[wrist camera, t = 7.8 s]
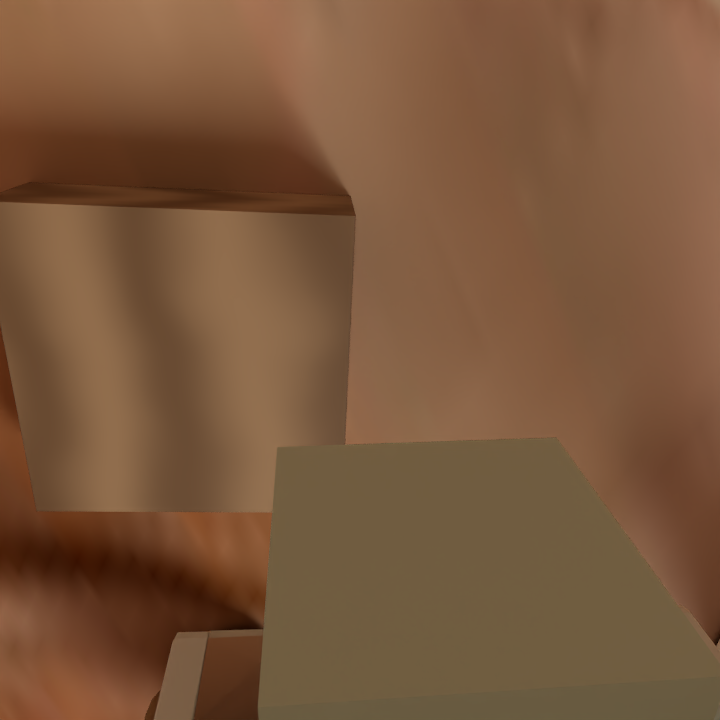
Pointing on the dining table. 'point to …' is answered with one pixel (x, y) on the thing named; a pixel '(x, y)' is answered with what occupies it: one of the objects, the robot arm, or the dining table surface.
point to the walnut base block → (172, 340)
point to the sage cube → (465, 592)
